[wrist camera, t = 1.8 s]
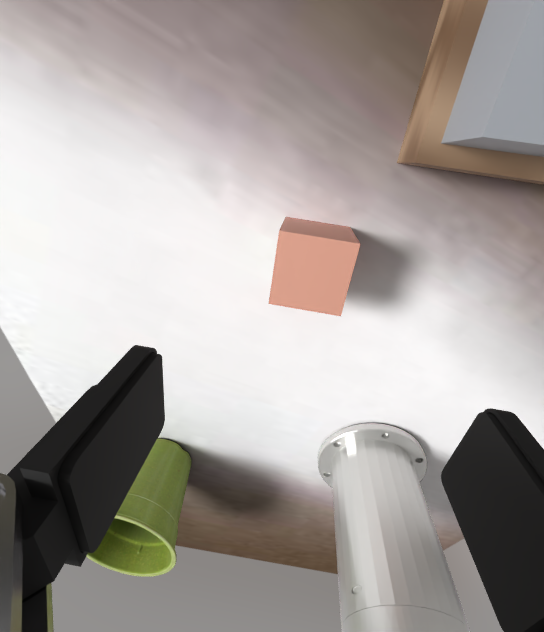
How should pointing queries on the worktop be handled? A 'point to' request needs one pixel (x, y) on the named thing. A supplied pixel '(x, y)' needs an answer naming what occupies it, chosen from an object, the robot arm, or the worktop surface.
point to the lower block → (438, 100)
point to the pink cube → (313, 266)
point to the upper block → (503, 82)
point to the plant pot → (148, 516)
